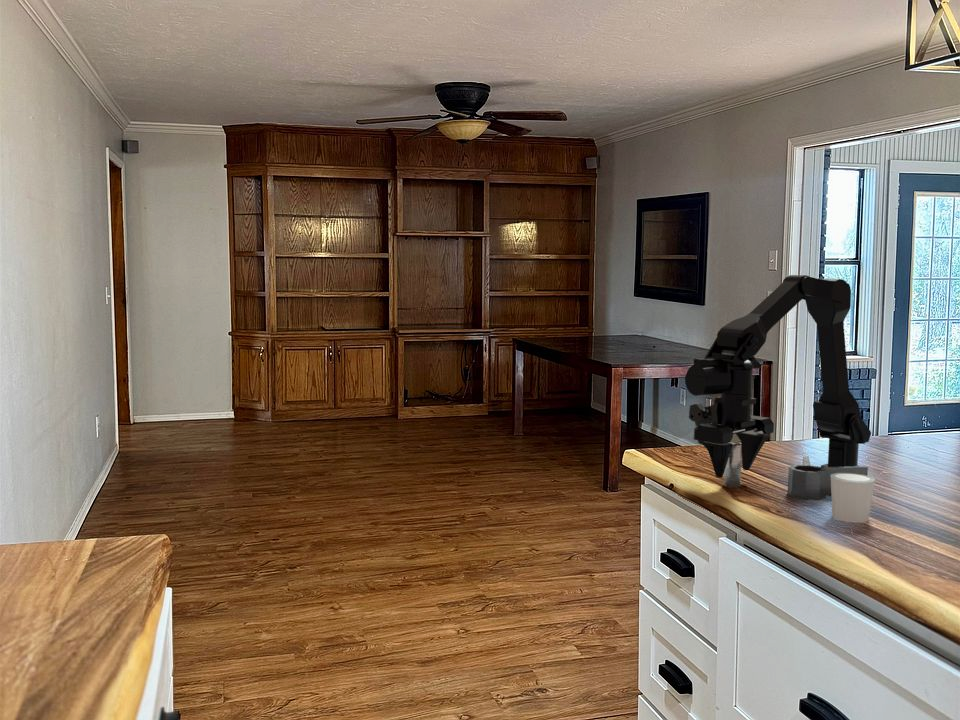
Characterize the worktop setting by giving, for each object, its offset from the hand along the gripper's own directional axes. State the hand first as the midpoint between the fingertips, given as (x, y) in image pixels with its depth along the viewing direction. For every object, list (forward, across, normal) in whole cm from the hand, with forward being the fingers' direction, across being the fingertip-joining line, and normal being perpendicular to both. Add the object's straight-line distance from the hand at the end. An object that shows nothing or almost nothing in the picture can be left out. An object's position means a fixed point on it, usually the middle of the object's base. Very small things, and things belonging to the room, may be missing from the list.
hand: (732, 473), depth 167 cm
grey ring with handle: (+2, -8, +13) cm, 15 cm away
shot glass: (+2, +4, +25) cm, 25 cm away
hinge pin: (+2, 0, 0) cm, 2 cm away
